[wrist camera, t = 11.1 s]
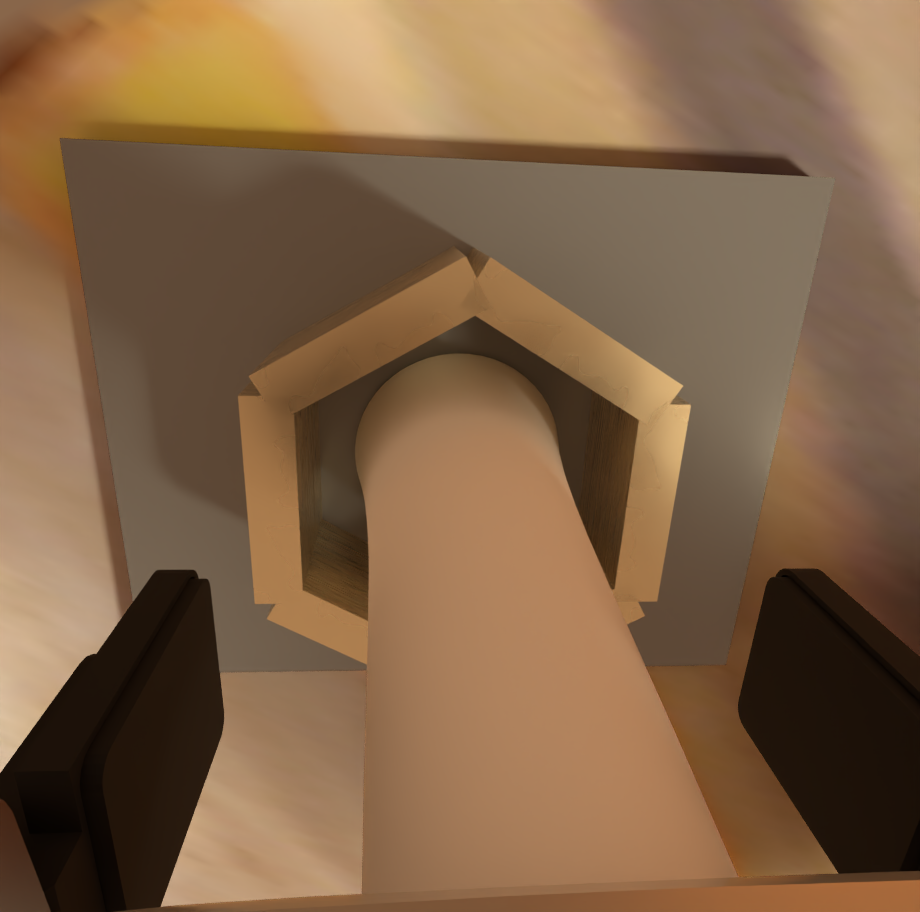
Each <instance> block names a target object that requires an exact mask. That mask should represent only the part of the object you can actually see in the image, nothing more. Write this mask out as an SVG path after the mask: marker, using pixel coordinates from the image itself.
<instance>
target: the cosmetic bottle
mask: <svg viewBox="0 0 920 912" xmlns="http://www.w3.org/2000/svg"><path fill="white" fill-rule="evenodd" d="M355 462H356V468H357V473H358V476H359V480H360V483H361V487H362V491H363V495H364V501H365V508H366V518H367V531H368V551H369V591H368V646H367V684H366V721H365V759H364V798H363V856H362V894H374V893H394V892H415V891H435V890H456V889H476V888H497V887H519V886H542V885H565V884H588V883H611V882H635V881H659V880H684V879H708V878H733V877H738V875H737V873H736V870H735V868H734V866H733V863H732V861H731V859H730V857H729V854H728V852H727V850H726V847H725V845H724V843H723V841H722V838H721V836H720V834H719V831H718V829H717V827H716V825H715V822H714V820H713V818H712V815H711V813H710V811H709V809H708V806H707V804H706V802H705V799H704V797H703V795H702V792H701V790H700V788H699V786H698V783H697V781H696V779H695V776H694V774H693V772H692V770H691V767H690V765H689V763H688V760H687V758H686V756H685V754H684V751H683V749H682V747H681V744H680V742H679V740H678V738H677V735H676V733H675V731H674V729H673V726H672V724H671V722H670V720H669V717H668V715H667V713H666V711H665V709H664V706H663V704H662V702H661V700H660V697H659V695H658V693H657V691H656V688H655V686H654V684H653V682H652V680H651V677H650V675H649V673H648V671H647V668H646V666H645V664H644V662H643V659H642V657H641V655H640V653H639V651H638V648H637V646H636V644H635V642H634V639H633V637H632V635H631V633H630V630H629V628H628V626H627V624H626V621H625V619H624V617H623V615H622V613H621V610H620V608H619V606H618V604H617V601H616V599H615V597H614V595H613V592H612V590H611V588H610V586H609V583H608V581H607V579H606V576H605V574H604V572H603V570H602V567H601V565H600V563H599V560H598V558H597V556H596V553H595V551H594V549H593V546H592V544H591V542H590V540H589V537H588V535H587V533H586V530H585V527H584V525H583V522H582V520H581V517H580V515H579V512H578V510H577V507H576V505H575V502H574V499H573V497H572V494H571V491H570V488H569V485H568V483H567V480H566V476H565V473H564V470H563V465H562V461H561V457H560V453H559V444H558V436H557V429H556V425H555V422H554V418H553V415H552V413H551V411H550V408H549V406H548V404H547V403H546V401H545V399H544V398H543V396H542V395H541V393H540V392H539V391H538V390H537V388H536V387H535V386H534V385H533V384H532V383H531V382H530V381H529V380H528V379H527V378H526V377H525V376H523V375H522V374H521V373H519V372H518V371H516V370H515V369H513V368H512V367H510V366H508V365H506V364H504V363H502V362H499V361H497V360H494V359H492V358H488V357H484V356H480V355H473V354H458V353H454V354H444V355H438V356H434V357H429V358H426V359H424V360H421V361H418V362H416V363H414V364H412V365H410V366H408V367H406V368H404V369H402V370H401V371H399V372H398V373H396V374H395V375H394V376H392V377H391V378H390V379H389V380H388V381H387V382H385V383H384V384H383V385H382V387H381V388H380V389H379V390H378V391H377V392H376V393H375V395H374V396H373V398H372V399H371V400H370V402H369V404H368V405H367V407H366V409H365V411H364V413H363V415H362V418H361V421H360V423H359V427H358V431H357V435H356V443H355Z"/></svg>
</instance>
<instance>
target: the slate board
mask: <svg viewBox="0 0 920 912" xmlns="http://www.w3.org/2000/svg"><path fill="white" fill-rule="evenodd" d="M60 143H61V150H62V156H63V162H64V169H65V175H66V181H67V188H68V194H69V200H70V207H71V213H72V219H73V226H74V232H75V238H76V245H77V251H78V257H79V264H80V270H81V276H82V283H83V289H84V295H85V302H86V308H87V314H88V321H89V327H90V333H91V340H92V346H93V352H94V359H95V365H96V371H97V378H98V384H99V390H100V397H101V403H102V409H103V416H104V422H105V428H106V435H107V441H108V447H109V454H110V460H111V466H112V473H113V479H114V485H115V492H116V498H117V504H118V511H119V517H120V523H121V530H122V536H123V542H124V549H125V555H126V561H127V568H128V574H129V580H130V587H131V593H132V599H133V601H134V600H135V599H136V597H137V596H138V594H139V593H140V591H141V590H142V589H143V587H144V586H145V584H146V583H147V582H148V580H149V579H150V577H151V576H152V574H153V573H154V572H155V571H156V570H195V571H196V572H197V574H198V577H199V579H208V580H209V583H210V587H211V596H212V606H213V615H214V624H215V633H216V643H217V652H218V661H219V671H220V672H286V671H354V670H367V665H366V664H364V663H362V662H360V661H358V660H355V659H353V658H351V657H349V656H347V655H344V654H342V653H340V652H338V651H336V650H333V649H331V648H329V647H327V646H325V645H322V644H320V643H318V642H316V641H314V640H311V639H309V638H307V637H305V636H303V635H300V634H298V633H296V632H294V631H292V630H290V629H287V628H285V627H283V626H281V625H279V624H276V623H274V622H272V621H270V620H268V619H267V616H268V613H269V611H270V608H271V605H272V604H255V600H254V588H253V576H252V563H251V551H250V539H249V527H248V514H247V502H246V490H245V477H244V465H243V453H242V440H241V428H240V416H239V403H238V395H239V394H240V393H241V392H242V391H243V390H244V389H245V387H246V386H247V385H248V384H249V383H250V382H251V379H250V378H249V375H250V374H251V373H252V372H253V371H254V370H255V369H256V368H257V367H258V366H259V365H260V364H261V363H262V362H263V361H264V360H265V358H266V357H267V356H268V355H269V354H270V353H271V352H272V351H273V350H274V349H275V348H276V347H277V346H278V345H279V344H280V343H281V342H282V341H284V340H286V339H287V338H289V337H291V336H293V335H295V334H296V333H298V332H300V331H302V330H304V329H305V328H307V327H309V326H311V325H313V324H314V323H316V322H318V321H320V320H322V319H323V318H325V317H327V316H329V315H331V314H332V313H334V312H336V311H338V310H340V309H341V308H343V307H345V306H347V305H349V304H350V303H352V302H354V301H356V300H358V299H360V298H361V297H363V296H365V295H367V294H369V293H370V292H372V291H374V290H376V289H378V288H379V287H381V286H383V285H385V284H387V283H388V282H390V281H392V280H394V279H396V278H397V277H399V276H401V275H403V274H405V273H406V272H408V271H410V270H412V269H414V268H415V267H417V266H419V265H421V264H423V263H424V262H426V261H428V260H430V259H432V258H433V257H435V256H437V255H439V254H441V253H442V252H444V251H446V250H448V249H450V248H451V247H453V246H454V247H455V248H456V249H458V250H459V251H460V252H461V253H463V254H464V255H465V256H466V257H467V256H468V254H469V253H470V251H471V249H472V248H473V247H474V248H476V249H477V250H479V251H481V252H482V253H484V254H486V255H488V256H489V257H491V258H493V259H494V260H496V261H497V262H499V263H500V264H502V265H503V266H505V267H506V268H508V269H509V270H511V271H512V272H514V273H515V274H517V275H518V276H520V277H521V278H523V279H524V280H526V281H527V282H528V283H530V284H531V285H533V286H534V287H536V288H537V289H539V290H540V291H542V292H543V293H545V294H546V295H548V296H549V297H551V298H552V299H554V300H555V301H557V302H558V303H560V304H561V305H563V306H564V307H566V308H567V309H569V310H570V311H572V312H573V313H575V314H576V315H578V316H579V317H581V318H582V319H584V320H585V321H587V322H588V323H590V324H591V325H593V326H594V327H596V328H597V329H599V330H600V331H602V332H603V333H605V334H606V335H608V336H609V337H611V338H612V339H614V340H615V341H617V342H618V343H620V344H621V345H623V346H624V347H626V348H627V349H629V350H630V351H632V352H633V353H635V354H636V355H638V356H639V357H641V358H642V359H644V360H645V361H647V362H648V363H650V364H651V365H653V366H654V367H656V368H657V369H659V370H660V371H662V372H663V373H665V374H666V375H668V376H669V377H671V378H672V379H674V380H675V381H677V382H678V383H680V384H681V385H683V387H682V388H681V390H680V391H679V392H678V394H677V395H678V396H679V397H681V398H682V399H683V400H685V401H686V402H688V403H689V404H691V408H690V414H689V420H688V425H687V431H686V437H685V443H684V449H683V454H682V460H681V466H680V472H679V478H678V483H677V489H676V495H675V501H674V507H673V512H672V518H671V524H670V530H669V536H668V541H667V547H666V553H665V559H664V565H663V570H662V576H661V582H660V588H659V594H658V599H657V601H655V602H638V603H639V605H640V607H641V609H642V611H643V613H644V615H645V616H644V617H642V618H640V619H638V620H636V621H633V622H631V623H629V624H627V626H628V628H629V630H630V633H631V635H632V637H633V639H634V642H635V644H636V646H637V648H638V651H639V653H640V655H641V657H642V659H643V662H644V664H645V666H694V665H726V662H727V658H728V653H729V649H730V645H731V640H732V636H733V631H734V627H735V622H736V618H737V613H738V609H739V604H740V600H741V596H742V591H743V587H744V582H745V578H746V573H747V569H748V564H749V560H750V556H751V551H752V547H753V542H754V538H755V533H756V529H757V524H758V520H759V516H760V511H761V507H762V502H763V498H764V493H765V489H766V484H767V480H768V475H769V471H770V467H771V462H772V458H773V453H774V449H775V444H776V440H777V435H778V431H779V427H780V422H781V418H782V413H783V409H784V404H785V400H786V395H787V391H788V386H789V382H790V378H791V373H792V369H793V364H794V360H795V355H796V351H797V346H798V342H799V338H800V333H801V329H802V324H803V320H804V315H805V311H806V306H807V302H808V298H809V293H810V289H811V284H812V280H813V275H814V271H815V266H816V262H817V257H818V253H819V249H820V244H821V240H822V235H823V231H824V226H825V222H826V217H827V213H828V209H829V204H830V200H831V195H832V191H833V186H834V182H835V178H829V177H809V176H789V175H770V174H750V173H731V172H711V171H692V170H672V169H652V168H633V167H613V166H594V165H574V164H555V163H535V162H516V161H496V160H476V159H457V158H437V157H418V156H398V155H379V154H359V153H339V152H320V151H300V150H281V149H261V148H242V147H222V146H203V145H183V144H163V143H144V142H124V141H105V140H85V139H66V138H60ZM454 353H458V354H473V355H480V356H484V357H488V358H492V359H494V360H497V361H499V362H502V363H504V364H506V365H508V366H510V367H512V368H513V369H515V370H516V371H518V372H519V373H521V374H522V375H523V376H525V377H526V378H527V379H528V380H529V381H530V382H531V383H532V384H533V385H534V386H535V387H536V388H537V390H538V391H539V392H540V393H541V395H542V396H543V398H544V399H545V401H546V403H547V404H548V406H549V408H550V411H551V413H552V415H553V418H554V422H555V425H556V429H557V436H558V444H559V453H560V457H561V461H562V465H563V470H564V473H565V476H566V480H567V483H568V485H569V488H570V491H571V494H572V497H573V499H574V502H575V505H576V507H577V510H578V512H579V503H580V495H581V486H582V477H583V469H584V460H585V452H586V443H587V434H588V426H589V417H590V409H591V400H592V391H593V390H591V389H590V388H588V387H587V386H585V385H583V384H582V383H580V382H579V381H577V380H576V379H574V378H572V377H571V376H569V375H568V374H566V373H565V372H563V371H561V370H560V369H558V368H557V367H555V366H554V365H552V364H550V363H549V362H547V361H546V360H544V359H543V358H541V357H539V356H538V355H536V354H535V353H533V352H532V351H530V350H528V349H527V348H525V347H524V346H522V345H521V344H519V343H517V342H516V341H514V340H513V339H511V338H510V337H508V336H506V335H505V334H503V333H502V332H500V331H499V330H497V329H495V328H494V327H492V326H491V325H489V324H488V323H486V322H484V321H483V320H481V319H480V318H478V317H477V316H474V317H472V318H470V319H468V320H466V321H464V322H463V323H461V324H459V325H457V326H455V327H453V328H451V329H450V330H448V331H446V332H444V333H442V334H440V335H439V336H437V337H435V338H433V339H431V340H429V341H427V342H426V343H424V344H422V345H420V346H418V347H416V348H414V349H413V350H411V351H409V352H407V353H405V354H403V355H402V356H400V357H398V358H396V359H394V360H392V361H390V362H389V363H387V364H385V365H383V366H381V367H379V368H377V369H376V370H374V371H372V372H370V373H368V374H366V375H365V376H363V377H361V378H359V379H357V380H355V381H353V382H352V383H350V384H348V385H346V386H344V387H342V388H340V389H339V390H337V391H335V392H333V393H331V394H329V395H328V396H326V397H324V398H322V399H320V400H318V411H319V438H320V466H321V493H322V519H323V520H325V521H327V522H329V523H331V524H333V525H335V526H337V527H339V528H341V529H343V530H345V531H346V532H348V533H350V534H352V535H354V536H356V537H358V538H360V539H362V540H364V541H366V542H368V531H367V518H366V508H365V501H364V495H363V491H362V487H361V483H360V480H359V476H358V473H357V468H356V462H355V443H356V435H357V431H358V427H359V423H360V421H361V418H362V415H363V413H364V411H365V409H366V407H367V405H368V404H369V402H370V400H371V399H372V398H373V396H374V395H375V393H376V392H377V391H378V390H379V389H380V388H381V387H382V385H383V384H384V383H385V382H387V381H388V380H389V379H390V378H391V377H392V376H394V375H395V374H396V373H398V372H399V371H401V370H402V369H404V368H406V367H408V366H410V365H412V364H414V363H416V362H418V361H421V360H424V359H426V358H429V357H434V356H438V355H444V354H454Z"/></svg>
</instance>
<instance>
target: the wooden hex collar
mask: <svg viewBox="0 0 920 912" xmlns="http://www.w3.org/2000/svg"><path fill="white" fill-rule="evenodd" d="M474 316H477V317H478V318H480V319H481V320H483V321H484V322H486V323H488V324H489V325H491V326H492V327H494V328H495V329H497V330H499V331H500V332H502V333H503V334H505V335H506V336H508V337H510V338H511V339H513V340H514V341H516V342H517V343H519V344H521V345H522V346H524V347H525V348H527V349H528V350H530V351H532V352H533V353H535V354H536V355H538V356H539V357H541V358H543V359H544V360H546V361H547V362H549V363H550V364H552V365H554V366H555V367H557V368H558V369H560V370H561V371H563V372H565V373H566V374H568V375H569V376H571V377H572V378H574V379H576V380H577V381H579V382H580V383H582V384H583V385H585V386H587V387H588V388H590V389H591V390H593V391H592V400H591V409H590V417H589V426H588V434H587V443H586V452H585V460H584V469H583V477H582V486H581V495H580V503H579V515H580V517H581V520H582V522H583V525H584V527H585V530H586V533H587V535H588V537H589V540H590V542H591V544H592V546H593V549H594V551H595V553H596V556H597V558H598V560H599V563H600V565H601V567H602V570H603V572H604V574H605V576H606V579H607V581H608V583H609V586H610V588H611V590H612V592H613V595H614V597H615V599H616V601H617V604H618V606H619V608H620V610H621V613H622V615H623V617H624V619H625V621H626V624H629V623H631V622H633V621H636V620H638V619H640V618H642V617H644V616H645V615H644V613H643V611H642V609H641V607H640V605H639V603H638V602H655V601H657V599H658V594H659V588H660V582H661V576H662V570H663V565H664V559H665V553H666V547H667V541H668V536H669V530H670V524H671V518H672V512H673V507H674V501H675V495H676V489H677V483H678V478H679V472H680V466H681V460H682V454H683V449H684V443H685V437H686V431H687V425H688V420H689V414H690V408H691V404H689V403H688V402H686V401H685V400H683V399H682V398H681V397H679V396H678V395H677V394H678V392H679V391H680V390H681V388H682V387H683V385H681V384H680V383H678V382H677V381H675V380H674V379H672V378H671V377H669V376H668V375H666V374H665V373H663V372H662V371H660V370H659V369H657V368H656V367H654V366H653V365H651V364H650V363H648V362H647V361H645V360H644V359H642V358H641V357H639V356H638V355H636V354H635V353H633V352H632V351H630V350H629V349H627V348H626V347H624V346H623V345H621V344H620V343H618V342H617V341H615V340H614V339H612V338H611V337H609V336H608V335H606V334H605V333H603V332H602V331H600V330H599V329H597V328H596V327H594V326H593V325H591V324H590V323H588V322H587V321H585V320H584V319H582V318H581V317H579V316H578V315H576V314H575V313H573V312H572V311H570V310H569V309H567V308H566V307H564V306H563V305H561V304H560V303H558V302H557V301H555V300H554V299H552V298H551V297H549V296H548V295H546V294H545V293H543V292H542V291H540V290H539V289H537V288H536V287H534V286H533V285H531V284H530V283H528V282H527V281H526V280H524V279H523V278H521V277H520V276H518V275H517V274H515V273H514V272H512V271H511V270H509V269H508V268H506V267H505V266H503V265H502V264H500V263H499V262H497V261H496V260H494V259H493V258H491V257H489V256H488V255H486V254H484V253H482V252H481V251H479V250H477V249H476V248H474V247H473V248H472V249H471V251H470V253H469V254H468V256H467V257H466V256H465V255H464V254H463V253H461V252H460V251H459V250H458V249H456V248H455V247H454V246H453V247H451V248H450V249H448V250H446V251H444V252H442V253H441V254H439V255H437V256H435V257H433V258H432V259H430V260H428V261H426V262H424V263H423V264H421V265H419V266H417V267H415V268H414V269H412V270H410V271H408V272H406V273H405V274H403V275H401V276H399V277H397V278H396V279H394V280H392V281H390V282H388V283H387V284H385V285H383V286H381V287H379V288H378V289H376V290H374V291H372V292H370V293H369V294H367V295H365V296H363V297H361V298H360V299H358V300H356V301H354V302H352V303H350V304H349V305H347V306H345V307H343V308H341V309H340V310H338V311H336V312H334V313H332V314H331V315H329V316H327V317H325V318H323V319H322V320H320V321H318V322H316V323H314V324H313V325H311V326H309V327H307V328H305V329H304V330H302V331H300V332H298V333H296V334H295V335H293V336H291V337H289V338H287V339H286V340H284V341H282V342H281V343H280V344H279V345H278V346H277V347H276V348H275V349H274V350H273V351H272V352H271V353H270V354H269V355H268V356H267V357H266V358H265V360H264V361H263V362H262V363H261V364H260V365H259V366H258V367H257V368H256V369H255V370H254V371H253V372H252V373H251V374H250V375H249V378H250V379H251V382H250V383H249V384H248V385H247V386H246V387H245V389H244V390H243V391H242V392H241V393H240V394H239V395H238V403H239V416H240V428H241V440H242V453H243V465H244V477H245V490H246V502H247V514H248V527H249V539H250V551H251V563H252V576H253V588H254V600H255V604H272V605H271V608H270V611H269V613H268V616H267V619H268V620H270V621H272V622H274V623H276V624H279V625H281V626H283V627H285V628H287V629H290V630H292V631H294V632H296V633H298V634H300V635H303V636H305V637H307V638H309V639H311V640H314V641H316V642H318V643H320V644H322V645H325V646H327V647H329V648H331V649H333V650H336V651H338V652H340V653H342V654H344V655H347V656H349V657H351V658H353V659H355V660H358V661H360V662H362V663H364V664H366V665H367V646H368V591H369V551H368V542H366V541H364V540H362V539H360V538H358V537H356V536H354V535H352V534H350V533H348V532H346V531H345V530H343V529H341V528H339V527H337V526H335V525H333V524H331V523H329V522H327V521H325V520H323V519H322V493H321V466H320V438H319V411H318V400H320V399H322V398H324V397H326V396H328V395H329V394H331V393H333V392H335V391H337V390H339V389H340V388H342V387H344V386H346V385H348V384H350V383H352V382H353V381H355V380H357V379H359V378H361V377H363V376H365V375H366V374H368V373H370V372H372V371H374V370H376V369H377V368H379V367H381V366H383V365H385V364H387V363H389V362H390V361H392V360H394V359H396V358H398V357H400V356H402V355H403V354H405V353H407V352H409V351H411V350H413V349H414V348H416V347H418V346H420V345H422V344H424V343H426V342H427V341H429V340H431V339H433V338H435V337H437V336H439V335H440V334H442V333H444V332H446V331H448V330H450V329H451V328H453V327H455V326H457V325H459V324H461V323H463V322H464V321H466V320H468V319H470V318H472V317H474Z"/></svg>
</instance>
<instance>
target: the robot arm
mask: <svg viewBox="0 0 920 912" xmlns="http://www.w3.org/2000/svg"><path fill="white" fill-rule="evenodd" d="M738 712H739V717H740V720H741V723H742V725H743V726H744V728H745V730H746V731H747V733H748V734H749V736H750V737H751V739H752V740H753V742H754V743H755V745H756V747H757V748H758V750H759V751H760V753H761V754H762V756H763V757H764V759H765V760H766V762H767V764H768V765H769V767H770V768H771V770H772V771H773V773H774V774H775V776H776V777H777V779H778V781H779V782H780V784H781V785H782V787H783V788H784V790H785V791H786V793H787V794H788V796H789V798H790V799H791V801H792V802H793V804H794V805H795V807H796V808H797V810H798V811H799V813H800V815H801V816H802V818H803V819H804V821H805V822H806V824H807V825H808V827H809V828H810V830H811V832H812V833H813V835H814V836H815V838H816V839H817V841H818V842H819V844H820V845H821V847H822V848H823V850H824V852H825V853H826V855H827V856H828V858H829V859H830V861H831V862H832V864H833V865H834V867H835V869H836V870H837V872H838V873H839V874H816V875H788V876H760V877H733V878H708V879H684V880H659V881H635V882H611V883H588V884H565V885H542V886H519V887H497V888H476V889H456V890H435V891H415V892H394V893H374V894H353V895H333V896H312V897H296V898H281V899H265V900H250V901H235V902H220V903H205V904H190V905H175V906H166V907H160V906H161V904H162V901H163V898H164V895H165V892H166V890H167V887H168V884H169V881H170V878H171V876H172V873H173V870H174V867H175V864H176V862H177V859H178V856H179V853H180V850H181V848H182V845H183V842H184V839H185V836H186V834H187V831H188V828H189V825H190V822H191V820H192V817H193V814H194V811H195V808H196V806H197V803H198V800H199V797H200V794H201V792H202V789H203V786H204V783H205V780H206V778H207V775H208V772H209V769H210V766H211V764H212V761H213V758H214V755H215V752H216V750H217V747H218V744H219V741H220V738H221V735H222V731H223V724H224V708H223V698H222V689H221V680H220V671H219V661H218V652H217V643H216V633H215V624H214V615H213V606H212V596H211V587H210V583H209V580H208V579H199V577H198V574H197V572H196V571H195V570H156V571H155V572H154V573H153V574H152V576H151V577H150V579H149V580H148V582H147V583H146V584H145V586H144V587H143V589H142V590H141V591H140V593H139V594H138V596H137V597H136V599H135V600H134V601H133V603H132V604H131V606H130V607H129V609H128V610H127V611H126V613H125V614H124V616H123V617H122V618H121V620H120V621H119V623H118V624H117V626H116V627H115V628H114V630H113V631H112V633H111V634H110V635H109V637H108V638H107V640H106V641H105V643H104V644H103V645H102V647H101V648H100V650H99V651H98V653H97V654H92V655H89V656H87V657H86V658H85V659H84V660H83V661H82V662H81V663H80V664H79V665H78V667H77V668H76V670H75V671H74V672H73V674H72V675H71V676H70V678H69V679H68V681H67V682H66V683H65V685H64V686H63V688H62V689H61V690H60V692H59V693H58V694H57V696H56V697H55V699H54V700H53V701H52V703H51V704H50V705H49V707H48V708H47V710H46V711H45V712H44V714H43V715H42V716H41V718H40V719H39V721H38V722H37V723H36V725H35V726H34V727H33V729H32V730H31V732H30V733H29V734H28V736H27V737H26V738H25V740H24V741H23V743H22V744H21V745H20V747H19V748H18V749H17V751H16V752H15V754H14V755H13V756H12V758H11V759H10V761H9V762H8V763H7V765H6V766H5V767H4V769H3V770H2V772H1V773H0V912H920V657H919V656H918V655H917V654H916V653H914V652H913V651H912V650H911V649H910V648H909V647H908V646H906V645H905V644H904V643H903V642H902V641H901V640H900V639H898V638H897V637H896V636H895V635H894V634H893V633H892V632H890V631H889V630H888V629H887V628H886V627H885V626H884V625H882V624H881V623H880V622H879V621H878V620H877V619H876V618H874V617H873V616H872V615H871V614H870V613H869V612H868V611H866V610H865V609H864V608H863V607H862V606H861V605H860V604H858V603H857V602H856V601H855V600H854V599H853V598H852V597H850V596H849V595H848V594H847V593H846V592H845V591H844V590H842V589H841V588H840V587H839V586H838V585H837V584H836V583H834V582H833V581H832V580H831V579H830V578H829V577H828V576H826V575H825V574H824V573H823V572H822V571H820V570H818V569H782V570H780V571H779V572H778V573H777V574H776V577H772V578H770V579H769V581H768V582H767V585H766V588H765V593H764V597H763V601H762V605H761V609H760V614H759V618H758V622H757V626H756V630H755V635H754V639H753V643H752V647H751V651H750V655H749V660H748V664H747V668H746V672H745V676H744V681H743V685H742V689H741V693H740V697H739V702H738Z"/></svg>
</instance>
